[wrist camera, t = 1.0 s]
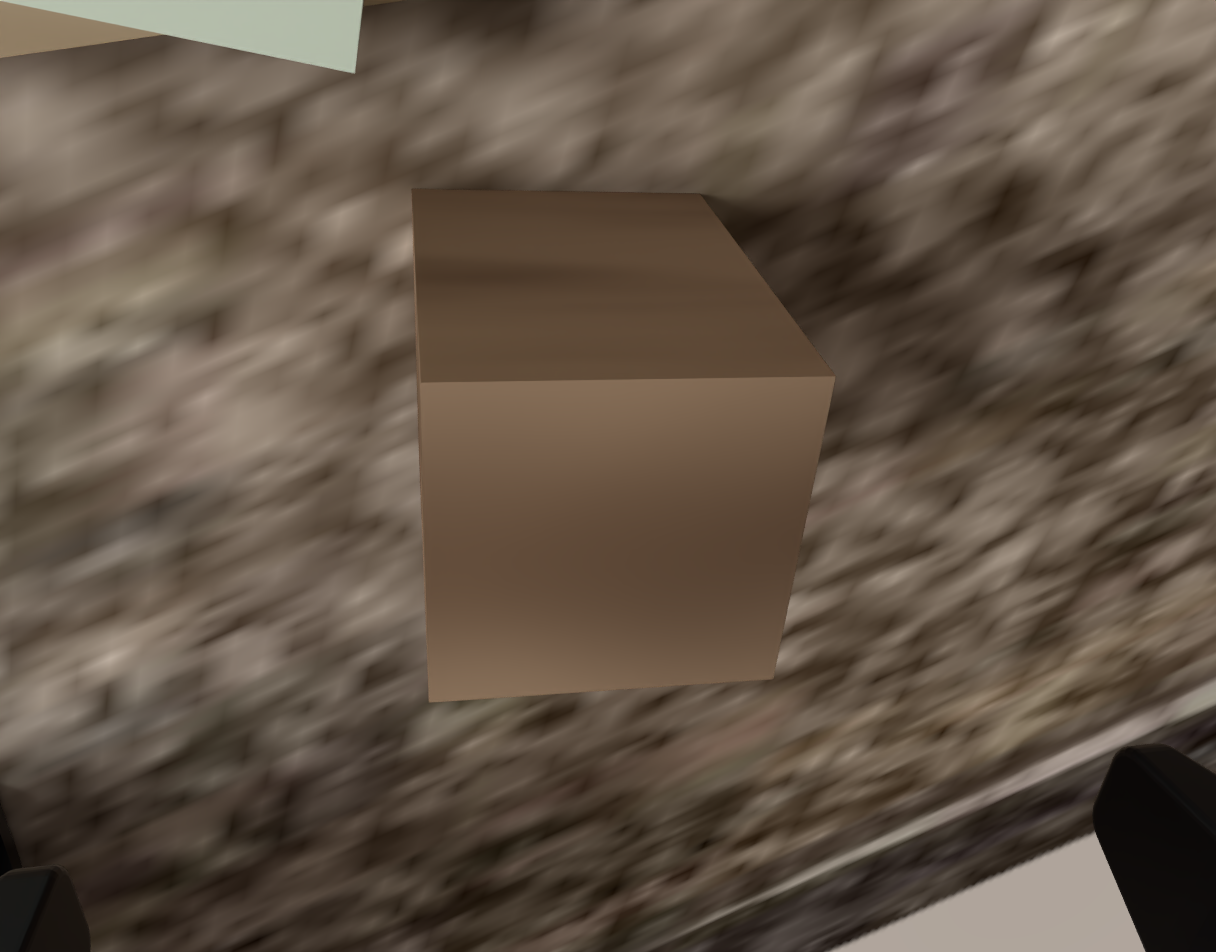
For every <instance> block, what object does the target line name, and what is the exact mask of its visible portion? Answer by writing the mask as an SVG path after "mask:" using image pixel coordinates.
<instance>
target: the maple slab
mask: <svg viewBox="0 0 1216 952" xmlns="http://www.w3.org/2000/svg"><path fill="white" fill-rule="evenodd" d="M398 1H405V0H364V2H363V6H369V5H376V4H384V3H391V2H398ZM158 35H165V34H160V33H155V32H150V31H145V30H140V29H135V28H131V27H126V26H121V25H116V24H111V23H106V22H101V21H96V20H92V19H87V18H82V17H77V16H72V15H67V14H62V13H57V12H52V11H48V10H43V9H38V8H33V7H28V6H23V5H18V4H13V3H8V2H4V1H0V58H3V57H10V56H17V55H24V54H31V53H38V52H45V51H53V50H60V49H67V48H74V47H81V46H88V45H95V44H102V43H109V42H116V41H123V40H130V39H137V38H144V37H151V36H158Z"/></svg>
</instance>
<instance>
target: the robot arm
mask: <svg viewBox="0 0 1216 952" xmlns="http://www.w3.org/2000/svg"><path fill="white" fill-rule="evenodd" d="M1092 816H1093V825H1094V829H1095V832H1096V835H1097V838H1098V840H1099V843H1100V845H1101V847H1102V850H1103V852H1104V854H1105V857H1106V859H1107V861H1108V864H1109V866H1110V869H1111V871H1112V873H1113V876H1114V878H1115V880H1116V883H1117V885H1118V887H1119V890H1120V892H1121V895H1122V897H1123V899H1124V902H1125V904H1126V906H1127V909H1128V911H1129V914H1130V916H1131V918H1132V921H1133V923H1134V925H1135V928H1136V930H1137V933H1138V935H1139V937H1140V940H1141V942H1142V944H1143V947H1144V949H1145V951H1146V952H1216V774H1215V773H1213V772H1212V771H1210V770H1208V769H1207V768H1205V767H1204V766H1202V765H1200V764H1199V763H1197V762H1196V761H1194V760H1192V759H1191V758H1189V757H1188V756H1186V755H1184V754H1183V753H1181V752H1180V751H1178V750H1176V749H1174V748H1173V747H1171V746H1168V745H1166V744H1160V743H1153V744H1144V745H1135V746H1127V747H1123V748H1121V749H1120V750H1119V751H1117V753H1116V754H1115V756H1114V757H1113V759H1112V762H1111V764H1110V766H1109V769H1108V771H1107V774H1106V776H1105V778H1104V781H1103V783H1102V785H1101V788H1100V790H1099V792H1098V795H1097V797H1096V800H1095V802H1094V805H1093V812H1092ZM90 947H91V945H90V933H89V928H88V924H87V921H86V919H85V916H84V913H83V910H82V907H81V905H80V902H79V899H78V896H77V894H76V891H75V888H74V885H73V882H72V880H71V877H70V875H69V873H68V871H67V870H66V869H65V868H64V867H62V866H60V865H47V866H38V867H29V868H23V867H22V865H21V862H20V859H19V856H18V853H17V850H16V847H15V844H14V841H13V838H12V836H11V833H10V830H9V827H8V824H7V821H6V818H5V815H4V812H3V810H2V807H1V804H0V952H90Z"/></svg>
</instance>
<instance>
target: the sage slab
mask: <svg viewBox="0 0 1216 952" xmlns="http://www.w3.org/2000/svg"><path fill="white" fill-rule="evenodd" d="M0 1H4V2H8V3H13V4H18V5H23V6H28V7H33V8H38V9H43V10H48V11H52V12H57V13H62V14H67V15H72V16H77V17H82V18H87V19H92V20H96V21H101V22H106V23H111V24H116V25H121V26H126V27H131V28H135V29H140V30H145V31H150V32H155V33H160V34H165V35H170V36H175V37H179V38H184V39H189V40H194V41H199V42H204V43H209V44H214V45H219V46H223V47H228V48H233V49H238V50H243V51H248V52H253V53H258V54H263V55H267V56H272V57H277V58H282V59H287V60H292V61H297V62H302V63H307V64H311V65H316V66H321V67H326V68H331V69H336V70H341V71H346V72H351V73H355V67H356V60H357V52H358V45H359V37H360V28H361V20H362V11H363V2H364V0H0Z"/></svg>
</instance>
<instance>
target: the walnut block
mask: <svg viewBox="0 0 1216 952" xmlns="http://www.w3.org/2000/svg"><path fill="white" fill-rule="evenodd" d="M412 224H413V259H414V295H415V330H416V366H417V401H418V437H419V464H420V489H421V514H422V539H423V564H424V589H425V614H426V640H427V665H428V690H429V702H444V701H459V700H474V699H488V698H503V697H518V696H532V695H547V694H562V693H577V692H591V691H606V690H621V689H635V688H650V687H665V686H679V685H694V684H709V683H724V682H738V681H753V680H768V679H773V677H774V672H775V667H776V662H777V658H778V653H779V648H780V643H781V638H782V634H783V629H784V624H785V619H786V614H787V609H788V605H789V600H790V595H791V590H792V585H793V581H794V576H795V571H796V566H797V561H798V556H799V552H800V547H801V542H802V537H803V532H804V528H805V523H806V518H807V513H808V508H809V504H810V499H811V494H812V489H813V484H814V479H815V475H816V470H817V465H818V460H819V455H820V451H821V446H822V441H823V436H824V431H825V426H826V422H827V417H828V412H829V407H830V402H831V398H832V393H833V388H834V383H835V378H836V376H835V375H834V373H833V372H832V370H831V369H830V368H829V366H828V365H827V364H826V362H825V361H824V360H823V358H822V357H821V356H820V354H819V353H818V352H817V350H816V349H815V348H814V346H813V345H812V344H811V342H810V341H809V340H808V338H807V337H806V336H805V334H804V333H803V332H802V330H801V329H800V327H799V326H798V325H797V323H796V322H795V321H794V319H793V318H792V317H791V315H790V314H789V313H788V311H787V310H786V309H785V307H784V306H783V305H782V303H781V302H780V301H779V299H778V298H777V297H776V295H775V294H774V293H773V291H772V290H771V289H770V287H769V286H768V284H767V283H766V282H765V280H764V279H763V278H762V276H761V275H760V274H759V272H758V271H757V270H756V268H755V267H754V266H753V264H752V263H751V262H750V260H749V259H748V258H747V256H746V255H745V254H744V252H743V251H742V250H741V248H740V247H739V246H738V244H737V243H736V242H735V240H734V239H733V237H732V236H731V235H730V233H729V232H728V231H727V229H726V228H725V227H724V225H723V224H722V223H721V221H720V220H719V219H718V217H717V216H716V215H715V213H714V212H713V211H712V209H711V208H710V207H709V205H708V204H707V203H706V201H705V200H704V199H703V197H702V196H701V194H694V193H634V192H575V191H515V190H456V189H412Z"/></svg>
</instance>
